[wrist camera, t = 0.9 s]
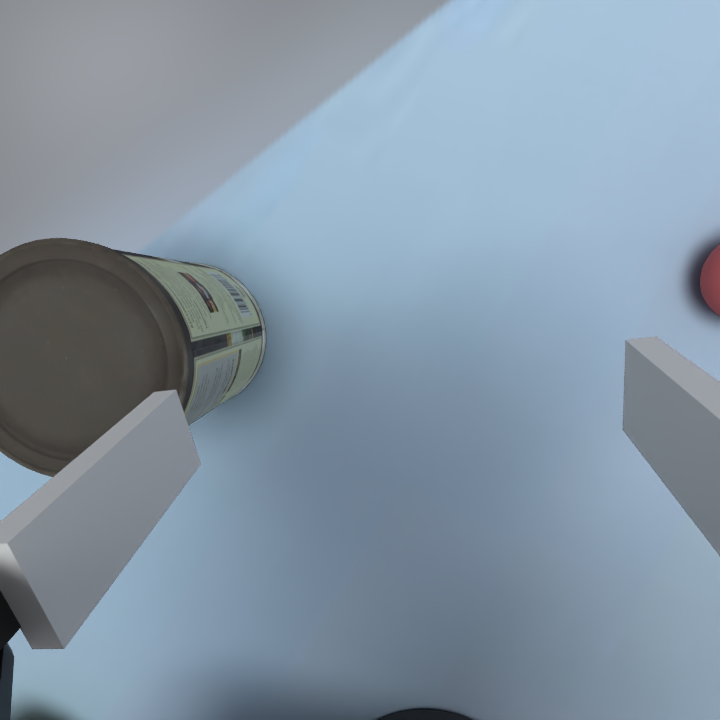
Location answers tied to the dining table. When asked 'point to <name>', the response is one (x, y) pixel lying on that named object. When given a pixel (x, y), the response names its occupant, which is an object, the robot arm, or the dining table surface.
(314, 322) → the dining table surface
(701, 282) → the ball
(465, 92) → the dining table surface
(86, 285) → the coffee can
